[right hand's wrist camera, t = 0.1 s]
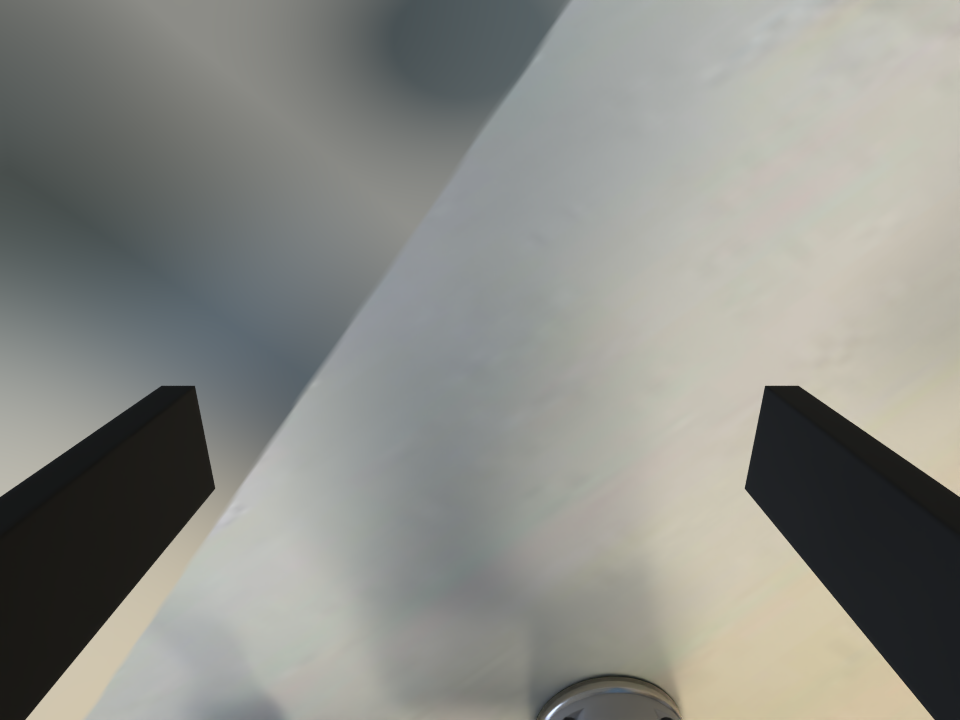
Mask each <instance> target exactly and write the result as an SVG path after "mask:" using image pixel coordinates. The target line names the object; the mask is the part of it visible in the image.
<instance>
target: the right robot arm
mask: <svg viewBox="0 0 960 720" xmlns="http://www.w3.org/2000/svg"><path fill="white" fill-rule="evenodd" d="M214 489H215V485H214V480H213V475H212V470H211V465H210V460H209V455H208V450H207V445H206V440H205V435H204V430H203V425H202V420H201V415H200V410H199V405H198V400H197V395H196V389H195V386H161V387H159V388H158V389H156V390H155V391H153V392H152V393H151V394H149V395H148V396H146V397H145V398H143V399H142V400H140V401H139V402H137V403H136V404H135V405H133V406H132V407H130V408H129V409H127V410H126V411H124V412H123V413H121V414H120V415H119V416H117V417H116V418H114V419H113V420H111V421H110V422H108V423H107V424H106V425H104V426H103V427H101V428H100V429H98V430H97V431H95V432H94V433H93V434H91V435H90V436H88V437H87V438H85V439H84V440H82V441H81V442H79V443H78V444H77V445H75V446H74V447H72V448H71V449H69V450H68V451H66V452H65V453H63V454H62V455H61V456H59V457H58V458H56V459H55V460H53V461H52V462H50V463H49V464H48V465H46V466H45V467H43V468H42V469H40V470H39V471H37V472H36V473H34V474H33V475H32V476H30V477H29V478H27V479H26V480H24V481H23V482H21V483H20V484H19V485H17V486H16V487H14V488H13V489H11V490H10V491H8V492H7V493H6V494H4V495H3V496H1V497H0V720H25V719H26V718H27V717H28V716H29V715H30V713H31V712H32V711H33V710H34V709H35V707H36V706H37V705H38V704H39V702H40V701H41V700H42V699H43V698H44V696H45V695H46V694H47V693H48V691H49V690H50V689H51V688H52V687H53V685H54V684H55V683H56V682H57V681H58V679H59V678H60V677H61V676H62V674H63V673H64V672H65V671H66V670H67V668H68V667H69V666H70V665H71V663H72V662H73V661H74V660H75V659H76V657H77V656H78V655H79V654H80V653H81V651H82V650H83V649H84V648H85V646H86V645H87V644H88V643H89V641H90V640H91V639H92V638H93V637H94V635H95V634H96V633H97V632H98V631H99V629H100V628H101V627H102V626H103V625H104V623H105V622H106V621H107V620H108V618H109V617H110V616H111V615H112V613H113V612H114V611H115V610H116V609H117V607H118V606H119V605H120V604H121V603H122V601H123V600H124V599H125V598H126V596H127V595H128V594H129V593H130V592H131V590H132V589H133V588H134V587H135V586H136V584H137V583H138V582H139V581H140V579H141V578H142V577H143V576H144V575H145V573H146V572H147V571H148V570H149V569H150V567H151V566H152V565H153V564H154V562H155V561H156V560H157V559H158V558H159V556H160V555H161V554H162V553H163V551H164V550H165V549H166V548H167V547H168V545H169V544H170V543H171V542H172V541H173V539H174V538H175V537H176V536H177V534H178V533H179V532H180V531H181V530H182V528H183V527H184V526H185V525H186V524H187V522H188V521H189V520H190V519H191V517H192V516H193V515H194V514H195V513H196V511H197V510H198V509H199V508H200V506H201V505H202V504H203V503H204V502H205V500H206V499H207V498H208V497H209V495H210V494H211V493H212V492H213V491H214ZM745 489H746V491H747V492H748V493H749V494H750V496H751V497H752V498H753V499H754V500H755V502H756V503H757V504H758V505H759V506H760V508H761V509H762V510H763V511H764V513H765V514H766V515H767V516H768V517H769V519H770V520H771V521H772V522H773V524H774V525H775V526H776V527H777V528H778V530H779V531H780V532H781V533H782V534H783V536H784V537H785V538H786V539H787V541H788V542H789V543H790V544H791V545H792V547H793V548H794V549H795V550H796V551H797V553H798V554H799V555H800V556H801V558H802V559H803V560H804V561H805V562H806V564H807V565H808V566H809V567H810V569H811V570H812V571H813V572H814V573H815V575H816V576H817V577H818V578H819V579H820V581H821V582H822V583H823V584H824V586H825V587H826V588H827V589H828V590H829V592H830V593H831V594H832V595H833V597H834V598H835V599H836V600H837V601H838V603H839V604H840V605H841V606H842V607H843V609H844V610H845V611H846V612H847V614H848V615H849V616H850V617H851V618H852V620H853V621H854V622H855V623H856V625H857V626H858V627H859V628H860V629H861V631H862V632H863V633H864V634H865V635H866V637H867V638H868V639H869V640H870V642H871V643H872V644H873V645H874V646H875V648H876V649H877V650H878V651H879V653H880V654H881V655H882V656H883V657H884V659H885V660H886V661H887V662H888V663H889V665H890V666H891V667H892V668H893V670H894V671H895V672H896V673H897V674H898V676H899V677H900V678H901V679H902V681H903V682H904V683H905V684H906V685H907V687H908V688H909V689H910V690H911V691H912V693H913V694H914V695H915V696H916V698H917V699H918V700H919V701H920V702H921V704H922V705H923V706H924V707H925V709H926V710H927V711H928V712H929V713H930V715H931V716H932V717H933V718H934V719H935V720H960V497H959V496H957V495H956V494H955V493H953V492H952V491H950V490H949V489H947V488H946V487H944V486H943V485H941V484H940V483H939V482H937V481H936V480H934V479H933V478H931V477H930V476H928V475H927V474H926V473H924V472H923V471H921V470H920V469H918V468H917V467H915V466H914V465H912V464H911V463H910V462H908V461H907V460H905V459H904V458H902V457H901V456H899V455H898V454H897V453H895V452H894V451H892V450H891V449H889V448H888V447H886V446H885V445H883V444H882V443H881V442H879V441H878V440H876V439H875V438H873V437H872V436H870V435H869V434H868V433H866V432H865V431H863V430H862V429H860V428H859V427H857V426H856V425H854V424H853V423H852V422H850V421H849V420H847V419H846V418H844V417H843V416H841V415H840V414H839V413H837V412H836V411H834V410H833V409H831V408H830V407H828V406H827V405H825V404H824V403H823V402H821V401H820V400H818V399H817V398H815V397H814V396H812V395H811V394H810V393H808V392H807V391H805V390H804V389H802V388H801V387H799V386H765V389H764V394H763V400H762V405H761V410H760V415H759V420H758V425H757V430H756V435H755V440H754V445H753V450H752V455H751V460H750V465H749V470H748V475H747V480H746V485H745ZM537 720H682V718H681V715H680V712H679V710H678V708H677V706H676V704H675V703H674V701H673V700H672V699H671V698H670V697H669V696H668V695H667V694H666V693H665V692H664V691H662V690H661V689H659V688H658V687H656V686H654V685H652V684H650V683H647V682H644V681H641V680H638V679H633V678H627V677H601V678H595V679H590V680H586V681H582V682H579V683H577V684H574V685H572V686H570V687H568V688H566V689H564V690H562V691H561V692H559V693H558V694H556V695H555V696H554V697H553V698H552V699H550V700H549V701H548V702H547V704H546V705H545V706H544V707H543V709H542V710H541V712H540V713H539V715H538V718H537Z"/></svg>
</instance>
